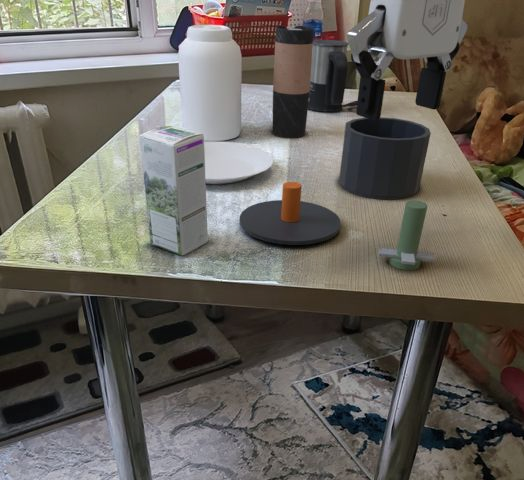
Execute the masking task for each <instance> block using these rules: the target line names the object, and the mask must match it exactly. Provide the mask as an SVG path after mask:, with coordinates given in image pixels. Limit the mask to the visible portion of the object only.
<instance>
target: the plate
mask: <svg viewBox="0 0 524 480" xmlns="http://www.w3.org/2000/svg"><path fill="white" fill-rule="evenodd" d="M204 150H205V181H206V184H207V185H208V184H209V185H221V184H222V185H223V184H224V185H225V184H231V183H237V182H241V181H244V180H247V179H250V178H251V177H253V176H256V175H259V174H261V173H264V172H266V171H268V170H269V169H270V168H271V167H273V165H274V162H275V160H274V158H273V155H271V153H269V152H268V151H266V150H264V149H262V148H260V147H256V146H253V145H250V144H244V143H239V142H231V141H204Z"/></svg>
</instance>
